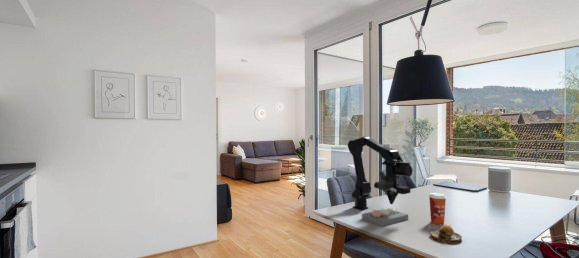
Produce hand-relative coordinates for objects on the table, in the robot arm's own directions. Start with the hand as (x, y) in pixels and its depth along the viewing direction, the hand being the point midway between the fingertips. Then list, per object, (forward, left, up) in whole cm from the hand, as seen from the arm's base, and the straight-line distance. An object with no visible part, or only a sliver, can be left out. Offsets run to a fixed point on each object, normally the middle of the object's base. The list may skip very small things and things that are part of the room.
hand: (391, 204), depth 146 cm
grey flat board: (0, -5, -7) cm, 9 cm away
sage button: (0, +1, -6) cm, 7 cm away
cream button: (0, -5, -5) cm, 7 cm away
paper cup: (+17, +13, -7) cm, 22 cm away
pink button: (0, -11, -5) cm, 12 cm away
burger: (+30, -2, -8) cm, 31 cm away
